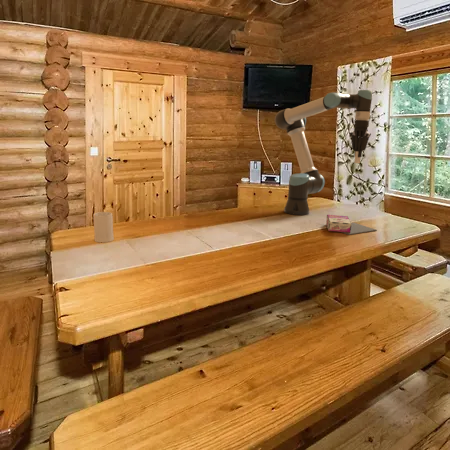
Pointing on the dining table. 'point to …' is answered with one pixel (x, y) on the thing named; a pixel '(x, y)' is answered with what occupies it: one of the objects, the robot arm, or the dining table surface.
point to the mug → (103, 227)
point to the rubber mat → (358, 229)
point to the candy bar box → (338, 223)
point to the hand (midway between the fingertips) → (357, 163)
